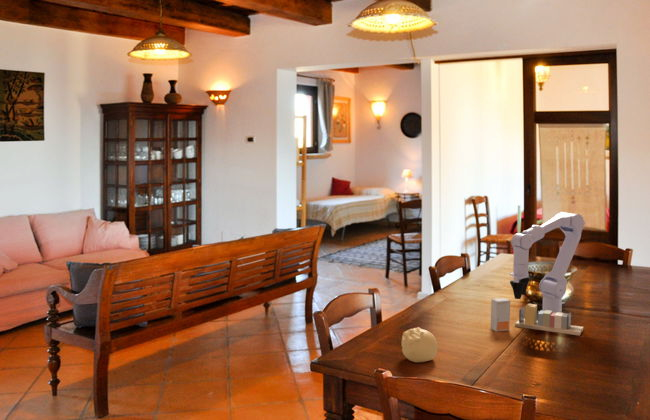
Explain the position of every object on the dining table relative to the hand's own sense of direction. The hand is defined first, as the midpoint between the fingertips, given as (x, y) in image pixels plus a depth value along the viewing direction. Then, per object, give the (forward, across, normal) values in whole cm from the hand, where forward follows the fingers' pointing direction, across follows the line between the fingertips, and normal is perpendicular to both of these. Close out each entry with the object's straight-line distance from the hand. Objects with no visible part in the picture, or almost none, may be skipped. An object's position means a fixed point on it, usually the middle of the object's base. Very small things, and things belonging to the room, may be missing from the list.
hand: (520, 296), depth 254 cm
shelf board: (+10, +3, +12) cm, 16 cm away
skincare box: (+11, +14, -4) cm, 18 cm away
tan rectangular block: (+9, +3, +5) cm, 11 cm away
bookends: (+9, +3, +10) cm, 14 cm away
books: (+9, +3, +14) cm, 17 cm away
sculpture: (+11, +60, -19) cm, 64 cm away
